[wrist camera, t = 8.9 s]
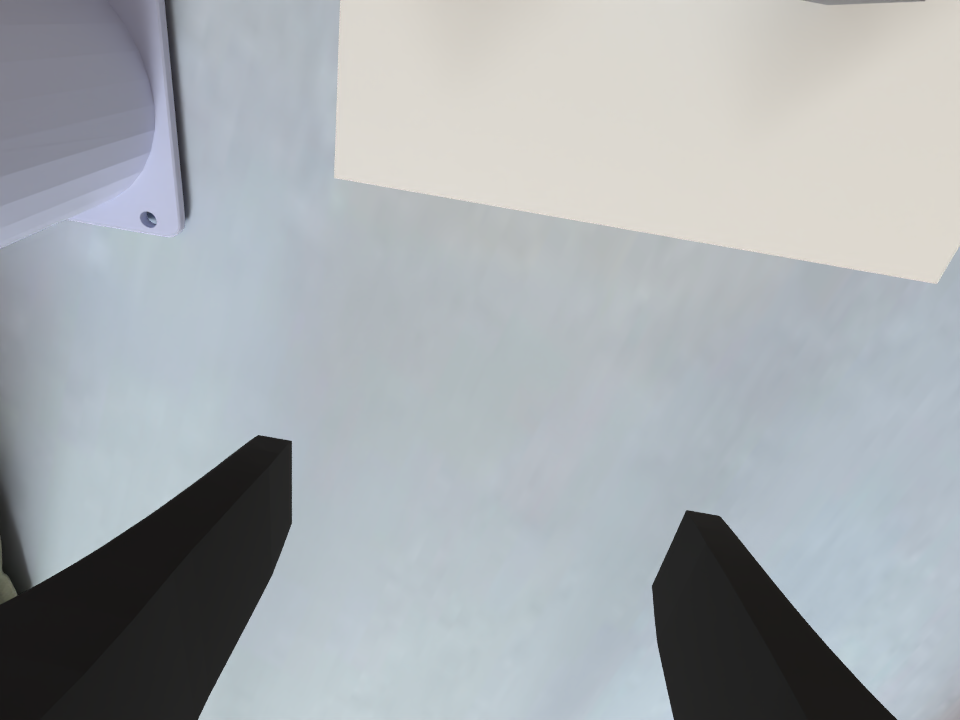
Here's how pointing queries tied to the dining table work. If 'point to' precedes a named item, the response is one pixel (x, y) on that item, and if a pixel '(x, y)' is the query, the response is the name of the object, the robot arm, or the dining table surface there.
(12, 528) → the dining table surface
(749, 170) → the stand base
